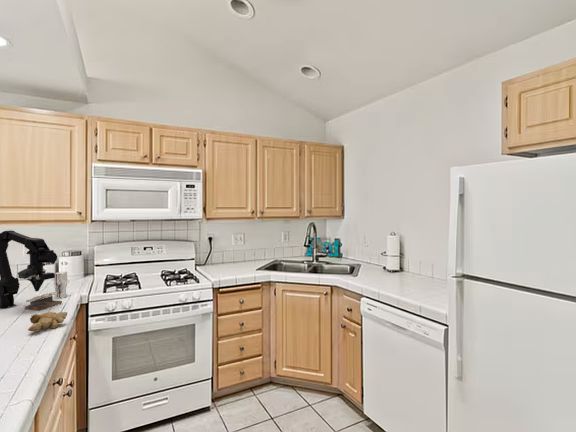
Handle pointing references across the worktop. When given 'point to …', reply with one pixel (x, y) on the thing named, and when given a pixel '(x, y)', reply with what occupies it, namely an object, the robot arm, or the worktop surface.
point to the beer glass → (60, 284)
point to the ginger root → (46, 320)
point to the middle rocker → (44, 296)
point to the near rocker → (33, 299)
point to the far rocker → (51, 294)
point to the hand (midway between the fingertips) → (36, 291)
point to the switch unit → (42, 303)
